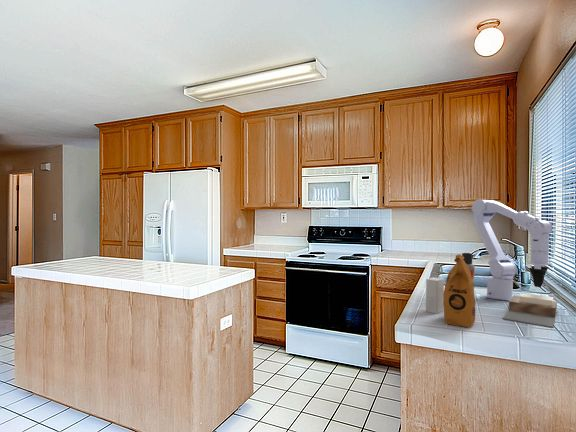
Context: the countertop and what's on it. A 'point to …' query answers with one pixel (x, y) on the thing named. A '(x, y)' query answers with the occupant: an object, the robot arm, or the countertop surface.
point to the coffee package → (459, 295)
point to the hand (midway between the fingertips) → (538, 285)
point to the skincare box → (434, 295)
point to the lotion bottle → (469, 264)
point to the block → (536, 299)
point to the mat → (530, 318)
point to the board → (532, 307)
